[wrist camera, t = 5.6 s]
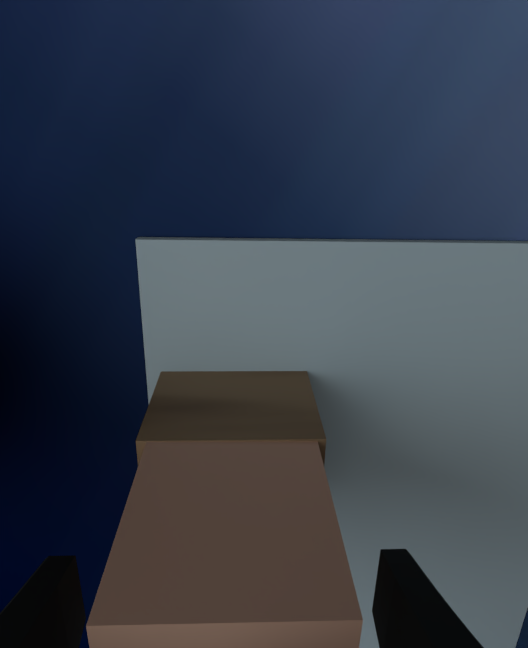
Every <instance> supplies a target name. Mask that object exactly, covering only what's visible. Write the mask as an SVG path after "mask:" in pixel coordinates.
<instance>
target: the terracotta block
mask: <svg viewBox="0 0 528 648" xmlns="http://www.w3.org/2000/svg"><path fill="white" fill-rule="evenodd" d="M362 624H363V618H362V614H361V610H360V606H359V602H358V598H357V594H356V590H355V586H354V583H353V579H352V575H351V571H350V567H349V563H348V559H347V555H346V551H345V547H344V543H343V539H342V535H341V531H340V527H339V523H338V519H337V515H336V511H335V508H334V504H333V500H332V496H331V492H330V488H329V484H328V480H327V476H326V472H325V468H324V464H323V460H322V456H321V452H320V448H319V444H318V441H182V442H146V444H145V447H144V450H143V453H142V456H141V460H140V463H139V466H138V469H137V472H136V475H135V478H134V481H133V484H132V487H131V490H130V493H129V496H128V499H127V503H126V506H125V509H124V512H123V515H122V518H121V521H120V524H119V527H118V530H117V533H116V536H115V539H114V542H113V545H112V549H111V552H110V555H109V558H108V561H107V564H106V567H105V570H104V573H103V576H102V579H101V582H100V585H99V588H98V592H97V595H96V598H95V601H94V604H93V607H92V610H91V613H90V616H89V619H88V622H87V625H86V628H87V634H88V641H89V647H90V648H359V644H360V637H361V631H362Z"/></svg>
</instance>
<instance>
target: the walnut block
mask: <svg viewBox="0 0 528 648" xmlns="http://www.w3.org/2000/svg"><path fill="white" fill-rule="evenodd" d="M182 441H318V444H319V448H320V452H321V456H322V460H323V464H324V463H325V450H326V436H325V433H324V429H323V425H322V422H321V418H320V415H319V411H318V408H317V404H316V401H315V397H314V394H313V390H312V387H311V383H310V380H309V376H308V373H307V371H161V373H160V375H159V378H158V381H157V384H156V386H155V389H154V392H153V395H152V398H151V400H150V403H149V406H148V409H147V411H146V414H145V417H144V420H143V422H142V425H141V428H140V431H139V433H138V436H137V439H136V449H137V459H138V466H139V463H140V460H141V456H142V453H143V450H144V447H145V444H146V442H182Z"/></svg>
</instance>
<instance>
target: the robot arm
mask: <svg viewBox="0 0 528 648" xmlns="http://www.w3.org/2000/svg"><path fill="white" fill-rule="evenodd" d="M372 613H373V618H374V623H375V628H376V634H377V638H378V643H379V648H484V647H483V646H482V645H481V644H480V643H479V641H478V640H477V639H476V638H475V637H474V635H473V634H472V633H471V632H470V631H469V629H468V628H467V627H466V626H465V624H464V623H463V622H462V621H461V620H460V618H459V617H458V616H457V615H456V613H455V612H454V611H453V610H452V608H451V607H450V606H449V605H448V603H447V602H446V601H445V599H444V598H443V597H442V596H441V594H440V593H439V592H438V590H437V589H436V588H435V586H434V585H433V584H432V582H431V581H430V580H429V578H428V577H427V576H426V574H425V573H424V572H423V570H422V569H421V568H420V566H419V565H418V564H417V562H416V561H415V559H414V558H413V557H412V555H411V554H410V553H409V552H408V551H407V550H406V549H381V550H380V557H379V564H378V571H377V578H376V585H375V592H374V600H373V607H372ZM85 619H86V616H85V610H84V604H83V598H82V592H81V586H80V580H79V574H78V568H77V562H76V556H48V557H47V558H46V559H45V560H44V561H43V563H42V564H41V565H40V566H39V567H38V569H37V570H36V571H35V572H34V573H33V575H32V576H31V577H30V578H29V579H28V581H27V582H26V583H25V584H24V586H23V587H22V588H21V589H20V590H19V592H18V593H17V594H16V595H15V596H14V597H13V599H12V600H11V601H10V602H9V603H8V605H7V606H6V607H5V608H4V609H3V610H2V612H1V613H0V648H79V645H80V640H81V636H82V632H83V628H84V624H85Z"/></svg>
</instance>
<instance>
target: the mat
mask: <svg viewBox="0 0 528 648" xmlns="http://www.w3.org/2000/svg"><path fill="white" fill-rule="evenodd" d="M136 252H137V264H138V277H139V289H140V302H141V314H142V327H143V339H144V352H145V364H146V376H147V389H148V401H149V403H150V400H151V398H152V395H153V392H154V389H155V386H156V384H157V381H158V378H159V375H160V373H161V371H307V373H308V376H309V380H310V383H311V387H312V390H313V394H314V397H315V401H316V404H317V408H318V411H319V415H320V418H321V422H322V425H323V429H324V433H325V436H326V450H325V463H324V468H325V472H326V476H327V480H328V484H329V488H330V492H331V496H332V500H333V504H334V508H335V511H336V515H337V519H338V523H339V527H340V531H341V535H342V539H343V543H344V547H345V551H346V555H347V559H348V563H349V567H350V571H351V575H352V579H353V583H354V586H355V590H356V594H357V598H358V602H359V606H360V610H361V614H362V618H363V624H362V631H361V637H360V644H359V648H379V643H378V638H377V634H376V628H375V623H374V618H373V613H372V607H373V600H374V592H375V585H376V578H377V571H378V564H379V557H380V550H381V549H406V550H407V551H408V552H409V553H410V554H411V555H412V557H413V558H414V559H415V561H416V562H417V564H418V565H419V566H420V568H421V569H422V570H423V572H424V573H425V574H426V576H427V577H428V578H429V580H430V581H431V582H432V584H433V585H434V586H435V588H436V589H437V590H438V592H439V593H440V594H441V596H442V597H443V598H444V599H445V601H446V602H447V603H448V605H449V606H450V607H451V608H452V610H453V611H454V612H455V613H456V615H457V616H458V617H459V618H460V620H461V621H462V622H463V623H464V624H465V626H466V627H467V628H468V629H469V631H470V632H471V633H472V634H473V635H474V637H475V638H476V639H477V640H478V641H479V643H480V644H481V645H482V646H483V647H484V648H515V647H516V644H517V641H518V637H519V634H520V631H521V627H522V624H523V621H524V618H525V614H526V611H527V608H528V241H463V240H366V239H270V238H174V237H138V238H137V239H136Z"/></svg>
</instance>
